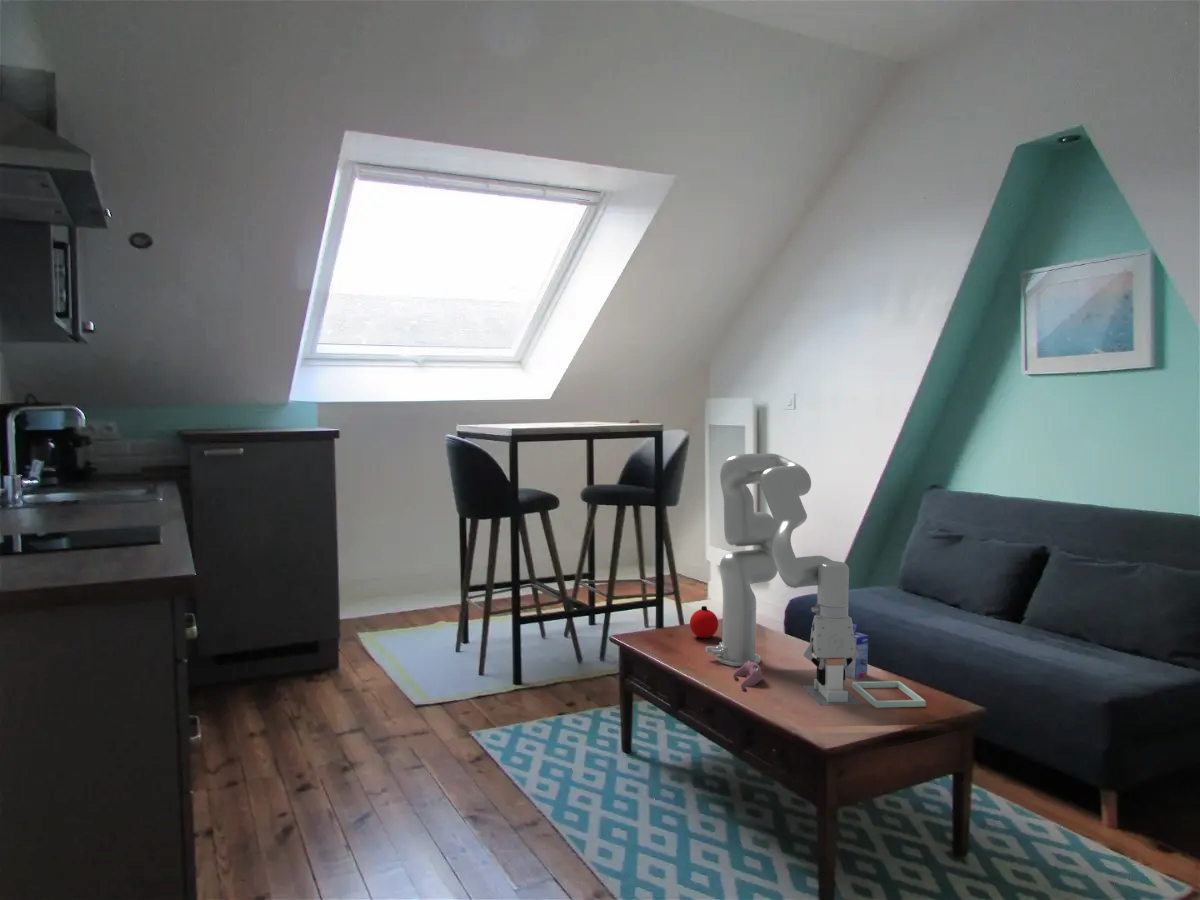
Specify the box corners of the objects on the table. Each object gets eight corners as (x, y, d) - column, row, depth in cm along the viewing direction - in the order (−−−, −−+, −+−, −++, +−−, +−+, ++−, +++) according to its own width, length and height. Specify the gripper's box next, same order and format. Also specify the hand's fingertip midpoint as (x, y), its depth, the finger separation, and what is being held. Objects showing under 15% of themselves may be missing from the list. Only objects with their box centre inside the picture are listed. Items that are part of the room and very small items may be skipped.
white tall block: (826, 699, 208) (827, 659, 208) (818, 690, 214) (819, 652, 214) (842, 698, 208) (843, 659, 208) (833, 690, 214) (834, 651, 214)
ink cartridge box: (868, 679, 227) (870, 626, 226) (855, 683, 224) (856, 629, 223) (838, 670, 235) (840, 618, 234) (825, 673, 232) (827, 621, 231)
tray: (875, 712, 203) (875, 702, 203) (851, 691, 217) (852, 682, 217) (925, 711, 204) (925, 700, 204) (898, 690, 218) (899, 680, 218)
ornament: (724, 637, 266) (724, 606, 265) (705, 643, 260) (706, 611, 259) (702, 632, 273) (702, 601, 272) (683, 637, 266) (684, 606, 266)
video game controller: (755, 696, 218) (767, 672, 217) (740, 689, 217) (752, 665, 217) (746, 684, 227) (757, 661, 227) (731, 676, 227) (743, 653, 227)
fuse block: (820, 710, 204) (821, 695, 204) (801, 690, 218) (802, 676, 218) (860, 709, 205) (861, 694, 205) (839, 689, 219) (839, 675, 219)
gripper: (804, 615, 206) (803, 689, 207) (871, 614, 207) (869, 687, 208) (794, 608, 213) (793, 679, 214) (859, 607, 215) (857, 677, 216)
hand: (830, 682), depth 211 cm, fingers closed on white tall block, 4 cm apart
